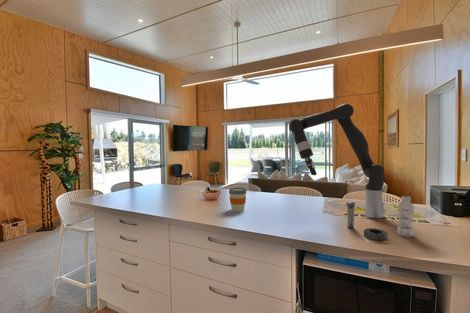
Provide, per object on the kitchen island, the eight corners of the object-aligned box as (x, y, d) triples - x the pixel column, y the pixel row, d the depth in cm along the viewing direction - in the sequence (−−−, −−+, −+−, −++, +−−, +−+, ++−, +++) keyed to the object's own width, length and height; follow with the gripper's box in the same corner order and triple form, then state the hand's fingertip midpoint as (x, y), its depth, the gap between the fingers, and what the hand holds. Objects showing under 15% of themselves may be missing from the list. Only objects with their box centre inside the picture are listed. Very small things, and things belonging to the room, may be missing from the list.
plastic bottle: (394, 235, 122) (394, 195, 121) (406, 234, 123) (407, 195, 122) (404, 240, 116) (404, 198, 115) (417, 239, 116) (417, 197, 116)
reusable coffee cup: (249, 209, 177) (249, 188, 177) (240, 213, 167) (240, 191, 166) (235, 207, 184) (234, 187, 183) (225, 210, 173) (225, 189, 173)
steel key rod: (353, 228, 133) (353, 201, 132) (356, 231, 129) (356, 203, 128) (345, 228, 133) (345, 201, 132) (348, 230, 129) (348, 203, 128)
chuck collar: (380, 234, 120) (380, 228, 120) (390, 241, 111) (390, 234, 111) (361, 234, 121) (361, 228, 121) (370, 241, 112) (370, 234, 112)
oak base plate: (381, 235, 122) (381, 233, 122) (395, 244, 110) (395, 242, 110) (356, 235, 123) (356, 233, 123) (368, 244, 111) (368, 242, 111)
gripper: (309, 146, 142) (319, 172, 138) (312, 149, 155) (321, 173, 151) (296, 150, 145) (306, 176, 141) (300, 153, 157) (309, 177, 154)
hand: (314, 174), depth 146 cm, fingers open, 8 cm apart
